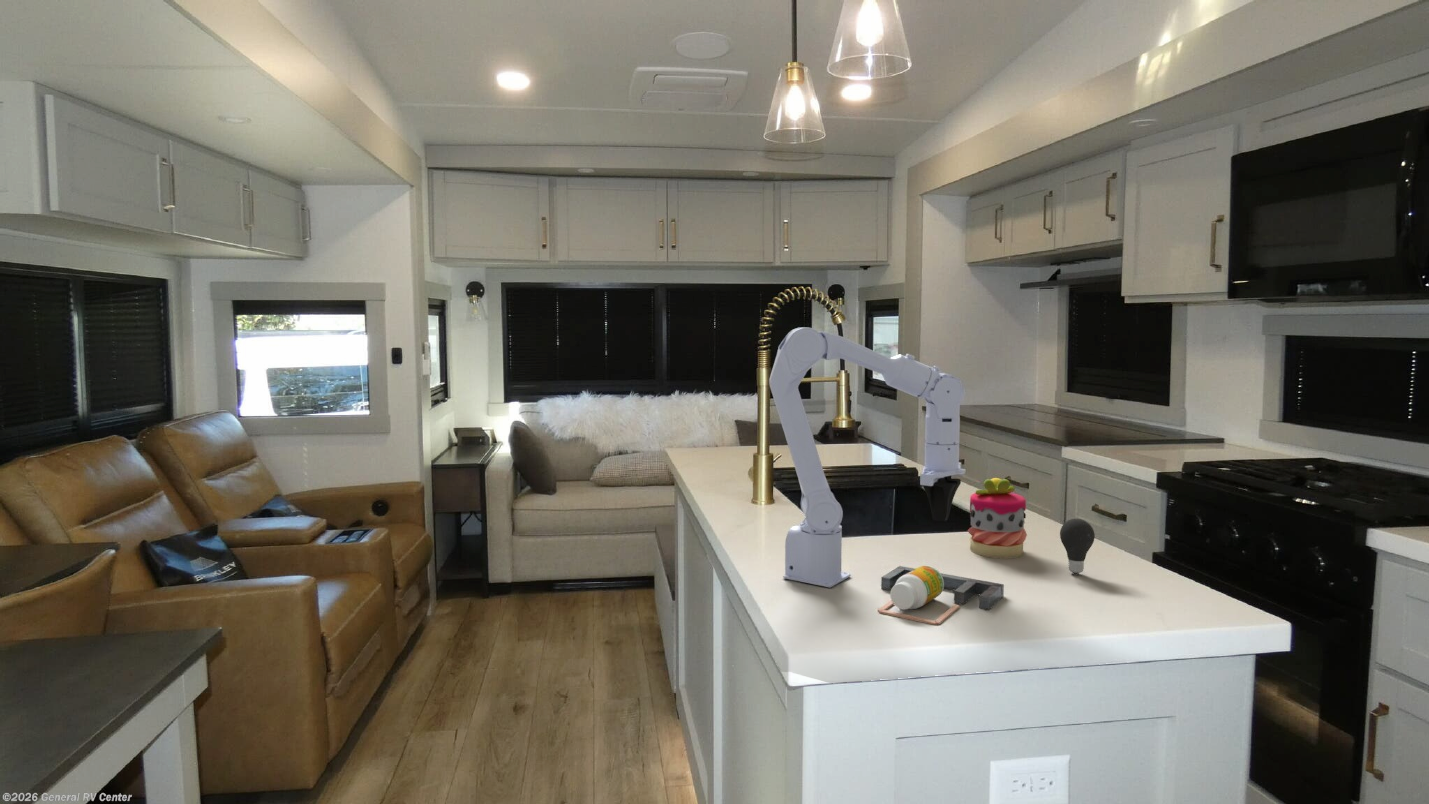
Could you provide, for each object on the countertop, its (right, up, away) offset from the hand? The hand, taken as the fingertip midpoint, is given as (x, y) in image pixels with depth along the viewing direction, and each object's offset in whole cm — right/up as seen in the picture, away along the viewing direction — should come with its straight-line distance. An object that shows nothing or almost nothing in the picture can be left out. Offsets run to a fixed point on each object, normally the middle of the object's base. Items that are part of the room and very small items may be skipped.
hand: (940, 520), depth 141 cm
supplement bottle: (-4, -9, -9) cm, 13 cm away
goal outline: (-7, -12, -15) cm, 20 cm away
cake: (+16, -9, +18) cm, 26 cm away
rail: (-2, -11, -7) cm, 13 cm away
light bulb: (+25, -10, +3) cm, 27 cm away
